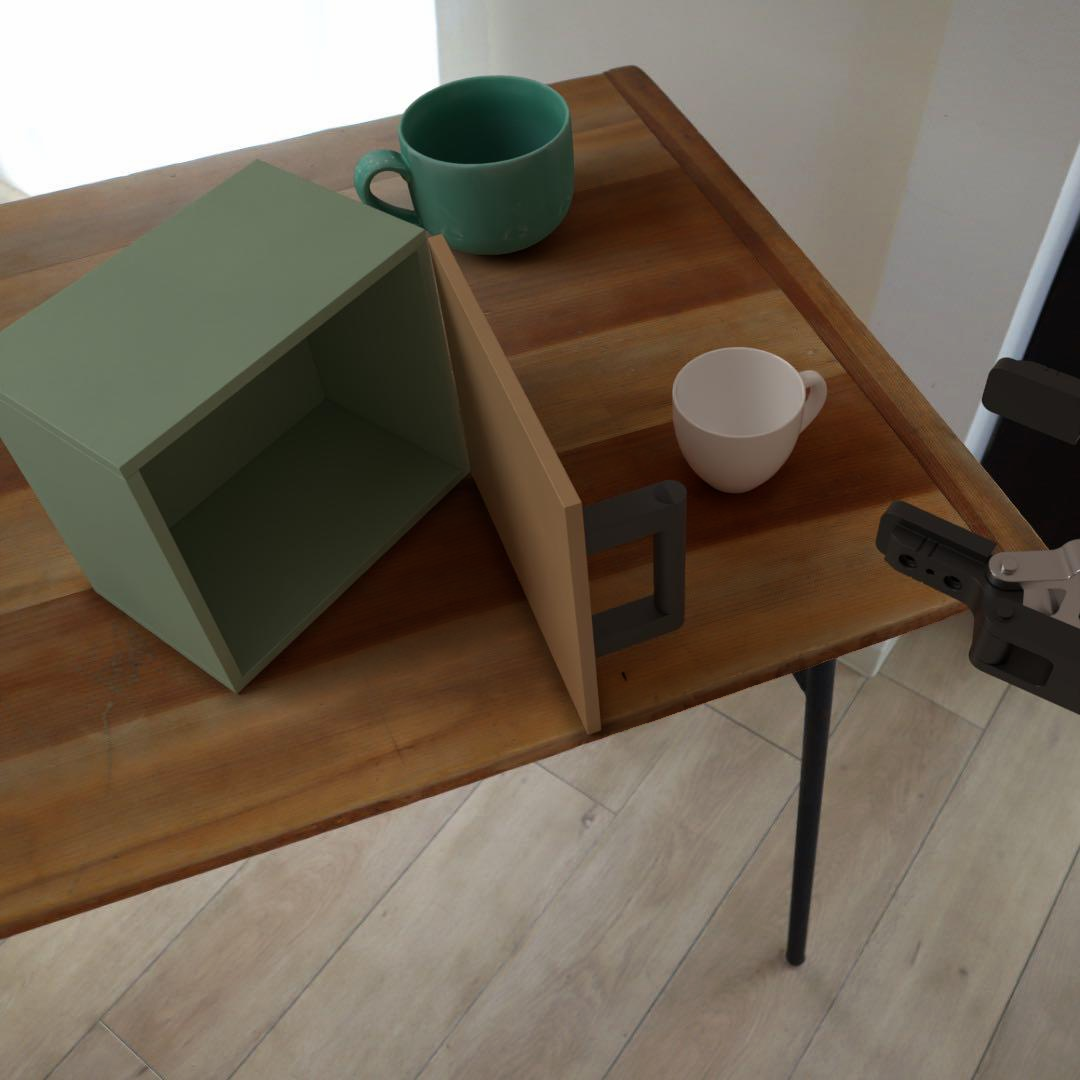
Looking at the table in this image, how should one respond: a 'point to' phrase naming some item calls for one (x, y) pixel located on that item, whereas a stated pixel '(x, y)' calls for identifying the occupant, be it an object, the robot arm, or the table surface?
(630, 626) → the cupboard door
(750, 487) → the cup
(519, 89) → the mug
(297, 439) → the cupboard
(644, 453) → the table surface
